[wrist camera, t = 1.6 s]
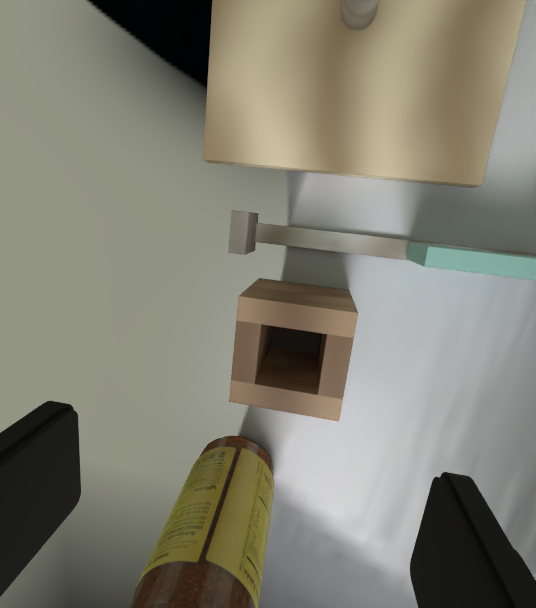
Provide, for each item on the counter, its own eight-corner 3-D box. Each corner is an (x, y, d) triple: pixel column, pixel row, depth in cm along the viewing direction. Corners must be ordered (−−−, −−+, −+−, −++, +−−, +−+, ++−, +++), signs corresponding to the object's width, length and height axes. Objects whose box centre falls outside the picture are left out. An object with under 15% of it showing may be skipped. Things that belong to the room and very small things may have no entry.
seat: (700, -169, 16) (831, -305, 12) (556, 287, 21) (612, 303, 17) (229, -158, 18) (203, -265, 14) (204, 244, 24) (179, 248, 20)
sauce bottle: (193, 486, 28) (-77, 1038, 9) (207, 420, 27) (-88, 923, 8) (271, 511, 28) (155, 1158, 9) (290, 445, 26) (198, 1059, 7)
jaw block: (349, 290, 23) (357, 312, 17) (335, 374, 24) (338, 421, 18) (259, 278, 24) (238, 296, 18) (251, 360, 25) (229, 401, 19)
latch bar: (553, 253, 20) (630, 263, 15) (545, 280, 20) (617, 299, 15) (410, 237, 21) (437, 241, 16) (404, 263, 21) (430, 275, 16)
